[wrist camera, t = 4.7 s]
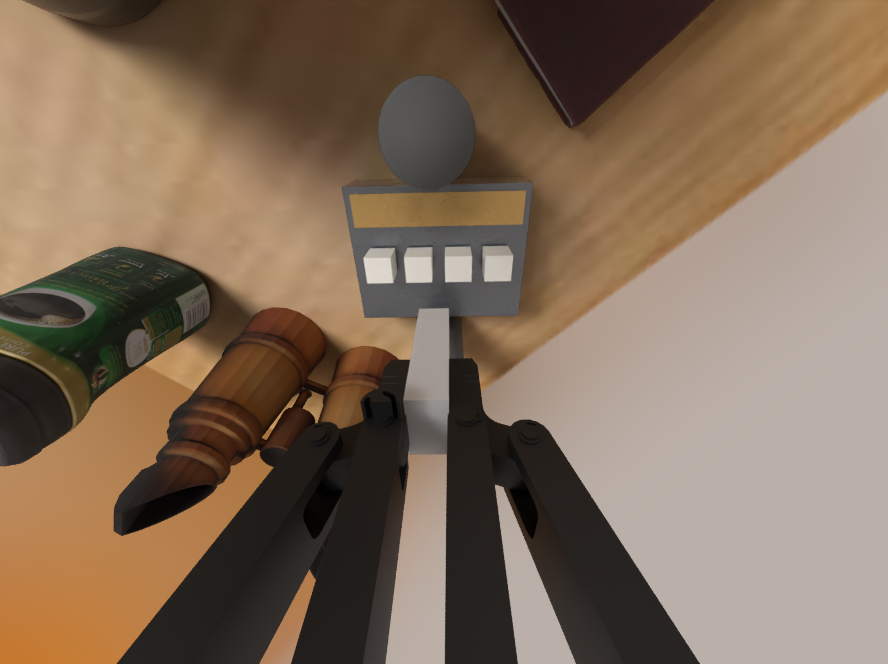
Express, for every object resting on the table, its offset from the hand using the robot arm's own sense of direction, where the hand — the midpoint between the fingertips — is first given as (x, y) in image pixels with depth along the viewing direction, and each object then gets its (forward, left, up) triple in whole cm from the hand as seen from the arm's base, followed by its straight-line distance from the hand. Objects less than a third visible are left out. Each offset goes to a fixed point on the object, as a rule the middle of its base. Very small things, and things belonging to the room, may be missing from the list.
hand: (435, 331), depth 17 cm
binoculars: (+13, -13, -16) cm, 24 cm away
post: (-9, 0, -15) cm, 18 cm away
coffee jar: (+4, -28, -16) cm, 32 cm away
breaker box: (0, 0, -15) cm, 15 cm away
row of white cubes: (0, 0, -11) cm, 11 cm away
